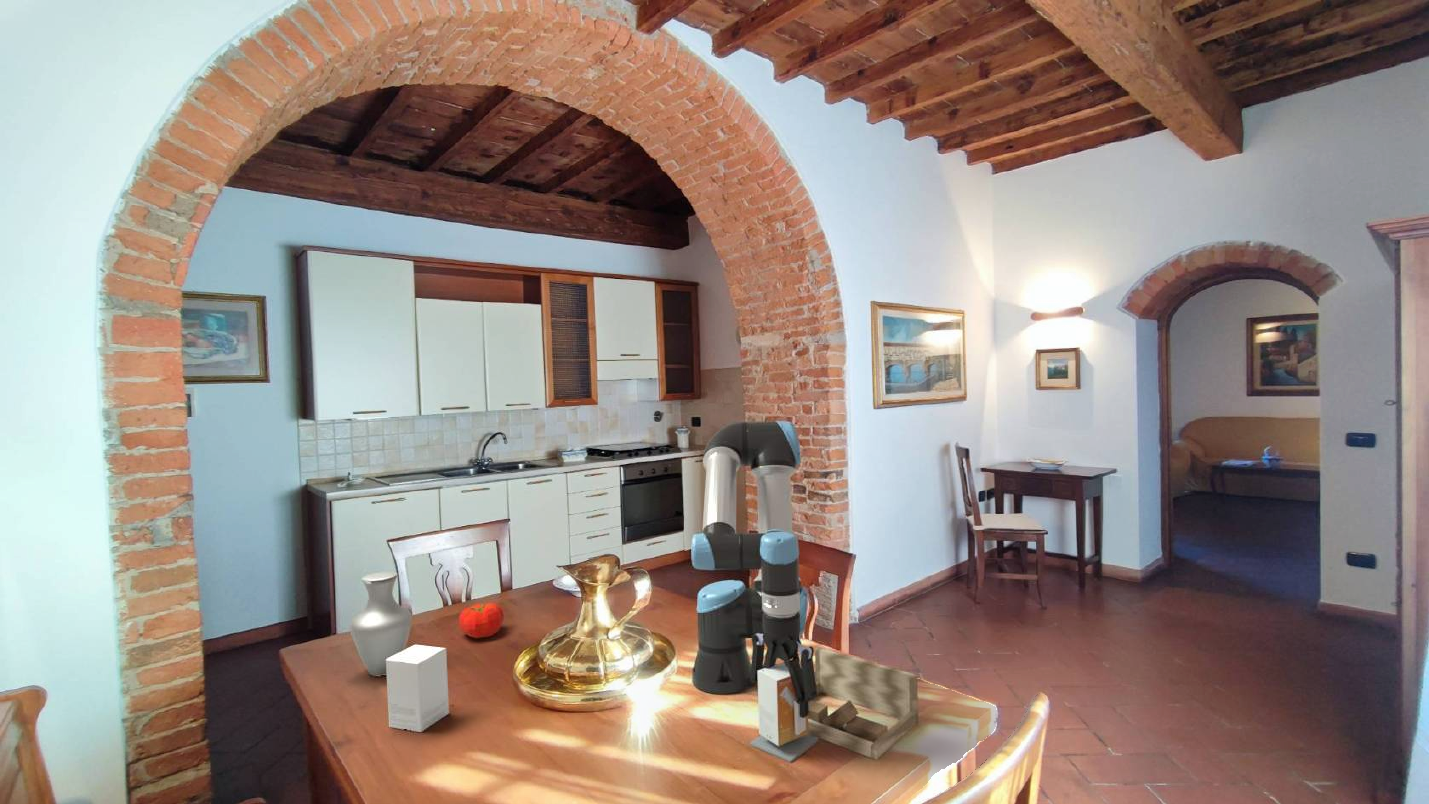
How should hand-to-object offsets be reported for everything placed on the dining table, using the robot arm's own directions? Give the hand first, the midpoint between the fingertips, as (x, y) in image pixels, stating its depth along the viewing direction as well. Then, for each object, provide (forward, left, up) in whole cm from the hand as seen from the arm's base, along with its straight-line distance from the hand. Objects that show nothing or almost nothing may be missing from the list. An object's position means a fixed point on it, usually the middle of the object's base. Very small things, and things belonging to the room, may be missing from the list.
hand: (783, 725), depth 134 cm
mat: (0, 0, -4) cm, 4 cm away
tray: (+5, +15, -4) cm, 16 cm away
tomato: (-104, -7, -4) cm, 104 cm away
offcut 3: (+13, +11, -4) cm, 17 cm away
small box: (0, 0, -2) cm, 2 cm away
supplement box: (-68, -42, -4) cm, 80 cm away
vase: (-101, -36, -4) cm, 107 cm away
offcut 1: (-1, +11, -4) cm, 11 cm away
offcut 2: (+8, +10, -2) cm, 13 cm away
